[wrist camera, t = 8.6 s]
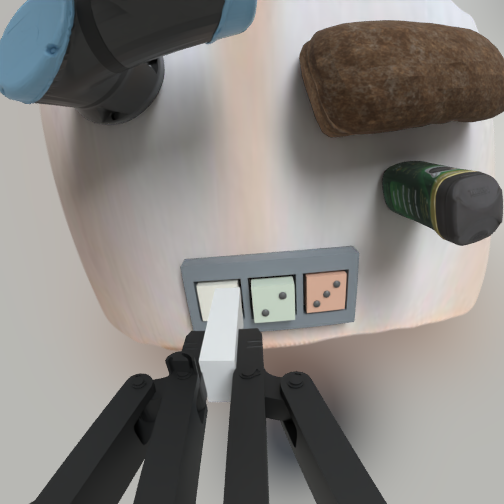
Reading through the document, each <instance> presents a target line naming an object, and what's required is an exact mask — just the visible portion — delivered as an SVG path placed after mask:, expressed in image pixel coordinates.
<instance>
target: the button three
mask: <svg viewBox="0 0 504 504" xmlns="http://www.w3.org/2000/svg"><path fill="white" fill-rule="evenodd" d="M346 276H347V274H346V272H345V271H344V270H336V271H325V272H314V273H304V298H305V308H306V311H307V313H312V312H321V311H330V310H339V309H345V295H346Z"/></svg>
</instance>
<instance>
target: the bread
mask: <svg viewBox="0 0 504 504" xmlns="http://www.w3.org/2000/svg"><path fill="white" fill-rule="evenodd" d="M299 59H300V65H301V72H302V77H303V81H304V84H305V88H306V91H307V94H308V97H309V100H310V102H311V105H312V108H313V111H314V115H315V117H316V120H317V122H318V124H319V126H320V128H321V130H322V132H323V133H324V134H326V135H328V136H329V137H343V136H349V135H355V134H361V135H362V134H374V133H381V132H389V131H397V130H402V129H407V128H414V127H422V126H425V125H429V124H443V123H447V122H451V121H458V122H476V121H481V120H486V119H489V118H493V117H495V116H496V115H498V114H500V113H502V112H503V111H504V58H503V56H502V55H501V53H500V52H499V50H498V49H497V48H496V47H495V46H494V45H493V44H492V43H491V42H490V41H489V40H488V39H487V38H485V37H484V36H482V35H480V34H479V33H477V32H475V31H473V30H470V29H465V28H459V27H451V26H445V25H440V24H433V23H419V22H409V21H393V20H383V21H364V22H353V23H344V24H340V25H336V26H333V27H329V28H326V29H323V30H320V31H317V32H316V33H315V34H314V35H313V37H312V38H311V40H310V41H308V42H307V43H305V44H304V45H303V47H302V50H301V53H300V58H299Z"/></svg>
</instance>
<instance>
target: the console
mask: <svg viewBox="0 0 504 504" xmlns="http://www.w3.org/2000/svg"><path fill="white" fill-rule="evenodd" d="M358 263H359V252H358V251H357V250H356V249H355V248H354V247H353V246H346V247H334V248H322V249H309V250H297V251H284V252H272V253H259V254H246V255H234V256H221V257H208V258H196V259H185V260H184V262H183V263H182V265H181V272H182V277H183V283H184V288H185V293H186V298H187V303H188V307H189V312H190V317H191V321H192V326H193V330H194V331H205V330H206V326H207V322H208V321H203V319H202V313H201V308H200V303H199V298H198V292H197V287H196V286H197V284H198V281H212V280H227V279H241V288H242V296H243V305H244V310H242V314H243V324H244V325H243V329H250V328H258V329H259V331H260V332H261V331H274V330H286V329H296V328H306V327H316V326H325V325H333V324H341V323H349V322H354V318H355V307H356V295H357V281H358ZM336 270H344V271H345V272H346V274H347V276H346V295H345V309H339V310H330V311H321V312H312V313H307V311H306V308H305V305H303V273H314V272H325V271H336ZM291 274H294V289H295V320H287V321H276V322H263V323H255V322H254V312H253V309H252V307H251V297H250V287H249V278H254V277H267V276H279V275H291Z"/></svg>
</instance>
